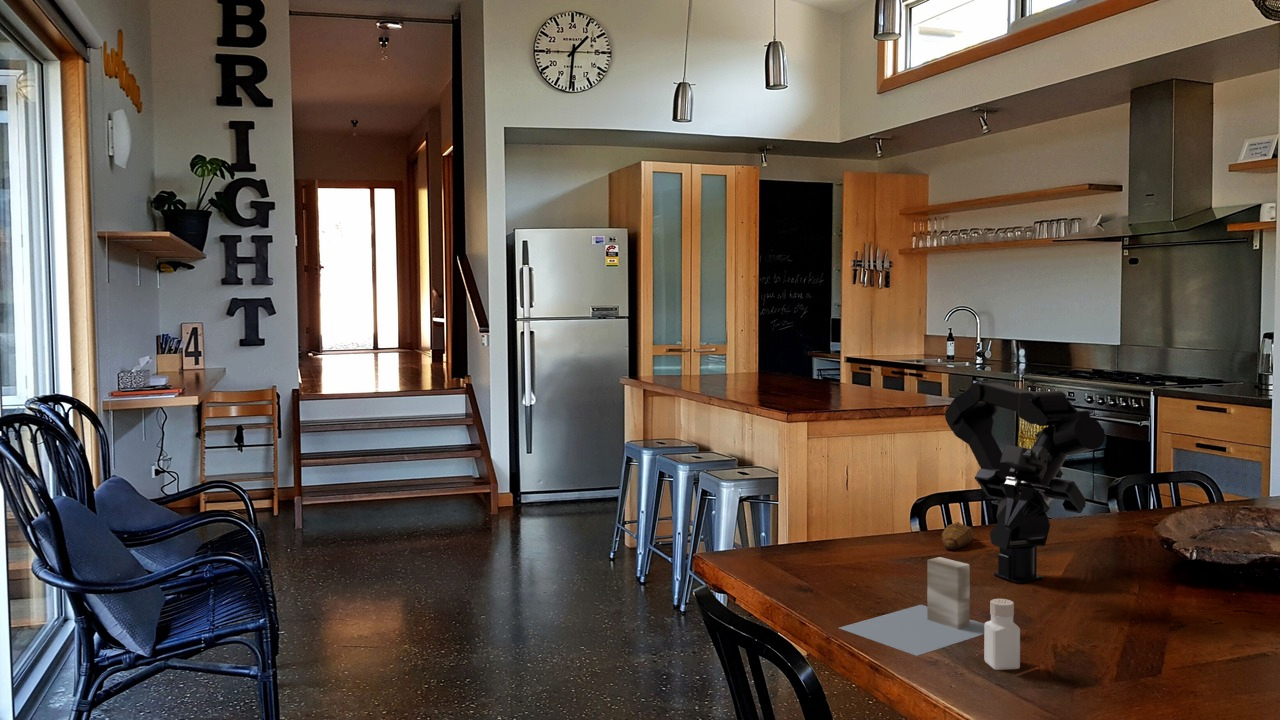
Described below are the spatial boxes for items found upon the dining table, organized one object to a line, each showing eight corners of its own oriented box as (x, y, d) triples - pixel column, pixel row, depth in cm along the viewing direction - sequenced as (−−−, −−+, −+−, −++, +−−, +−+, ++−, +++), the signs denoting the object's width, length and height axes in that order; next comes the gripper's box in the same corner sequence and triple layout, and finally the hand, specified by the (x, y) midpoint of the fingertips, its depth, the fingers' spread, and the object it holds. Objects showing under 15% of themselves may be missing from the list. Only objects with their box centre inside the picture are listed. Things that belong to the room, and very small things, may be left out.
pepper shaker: (982, 662, 148) (982, 598, 148) (1009, 660, 149) (1009, 597, 148) (994, 672, 144) (994, 606, 144) (1021, 670, 145) (1021, 605, 144)
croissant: (965, 554, 210) (965, 530, 209) (932, 550, 213) (933, 526, 213) (981, 540, 221) (982, 517, 221) (950, 536, 225) (950, 514, 224)
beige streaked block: (939, 616, 169) (939, 556, 168) (969, 625, 164) (969, 564, 163) (927, 619, 167) (927, 559, 166) (957, 629, 162) (957, 567, 161)
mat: (920, 606, 175) (920, 604, 175) (1000, 630, 162) (1000, 628, 162) (838, 629, 164) (838, 627, 164) (916, 657, 150) (916, 655, 150)
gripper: (981, 423, 183) (941, 491, 177) (1076, 433, 167) (1036, 508, 162) (1008, 461, 188) (969, 529, 182) (1103, 475, 172) (1064, 549, 167)
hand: (1007, 528), depth 173 cm, fingers closed
